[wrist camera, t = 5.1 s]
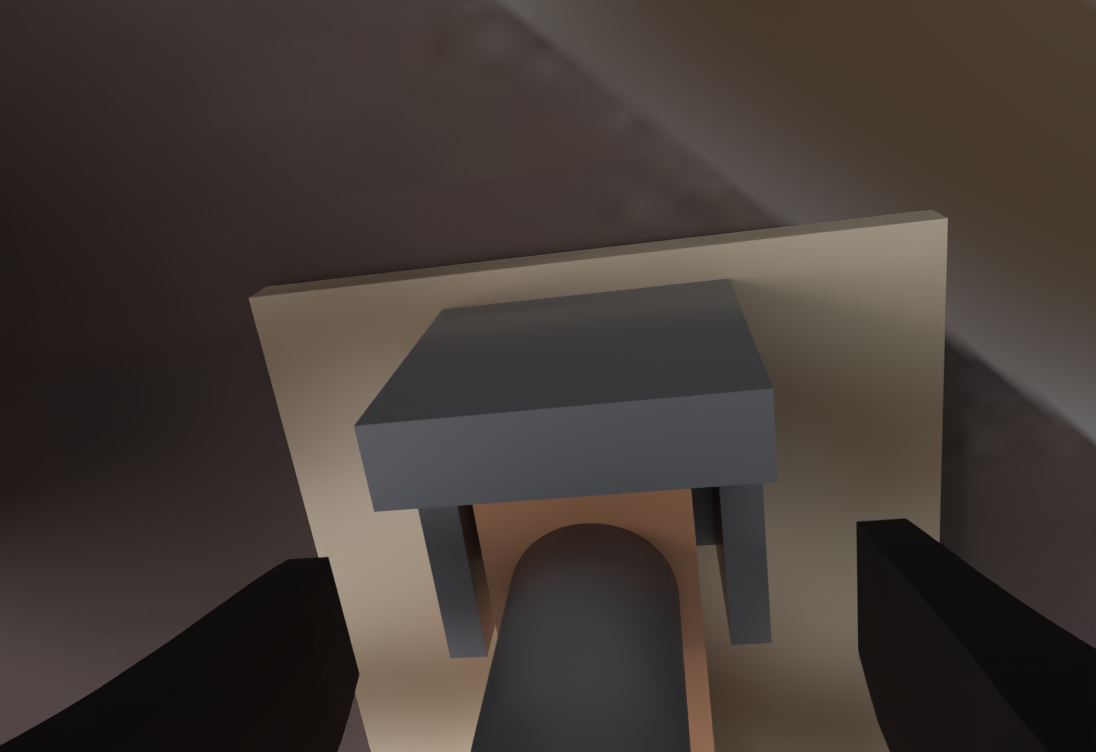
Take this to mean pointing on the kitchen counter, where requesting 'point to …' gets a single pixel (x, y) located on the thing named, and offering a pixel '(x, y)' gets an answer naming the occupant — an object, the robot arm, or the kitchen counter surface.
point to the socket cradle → (579, 430)
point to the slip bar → (594, 626)
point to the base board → (791, 542)
